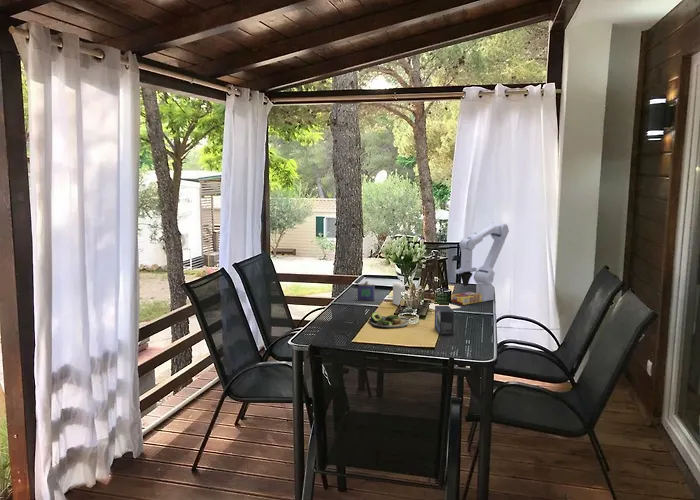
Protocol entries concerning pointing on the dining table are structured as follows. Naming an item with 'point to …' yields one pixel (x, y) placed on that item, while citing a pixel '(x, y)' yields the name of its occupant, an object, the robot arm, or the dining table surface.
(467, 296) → the candy box
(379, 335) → the dining table surface
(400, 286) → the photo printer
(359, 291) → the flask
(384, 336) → the dining table surface
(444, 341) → the dining table surface
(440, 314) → the small box
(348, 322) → the dining table surface
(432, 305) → the mat
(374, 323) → the salad plate
